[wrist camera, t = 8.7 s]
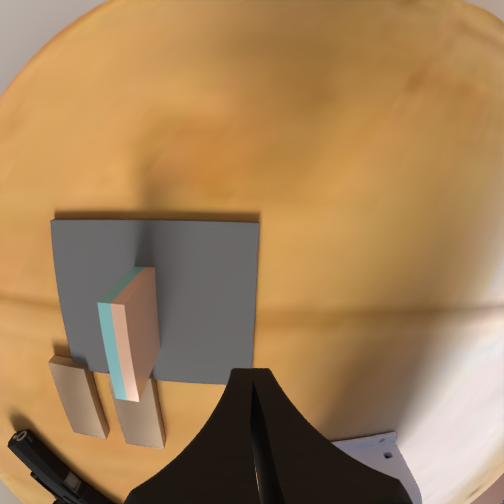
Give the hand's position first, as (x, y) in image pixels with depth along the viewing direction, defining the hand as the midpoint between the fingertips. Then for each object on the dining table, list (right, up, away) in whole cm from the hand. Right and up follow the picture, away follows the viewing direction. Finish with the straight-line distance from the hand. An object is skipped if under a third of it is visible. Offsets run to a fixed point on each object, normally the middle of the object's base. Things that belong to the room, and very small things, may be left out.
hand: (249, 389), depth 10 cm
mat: (-6, +2, +7) cm, 9 cm away
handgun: (-22, -21, +12) cm, 33 cm away
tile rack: (-10, -6, +8) cm, 14 cm away
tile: (-6, +2, +6) cm, 9 cm away
